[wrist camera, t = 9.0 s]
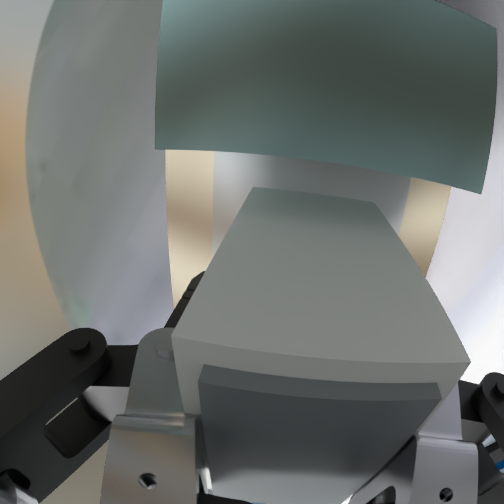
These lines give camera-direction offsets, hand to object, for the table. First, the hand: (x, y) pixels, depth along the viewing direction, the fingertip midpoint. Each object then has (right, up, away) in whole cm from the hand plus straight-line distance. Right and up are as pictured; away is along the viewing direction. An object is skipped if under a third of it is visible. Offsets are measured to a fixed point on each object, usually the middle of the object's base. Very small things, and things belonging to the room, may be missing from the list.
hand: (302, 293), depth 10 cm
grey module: (0, +1, +1) cm, 1 cm away
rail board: (+1, +2, +4) cm, 5 cm away
